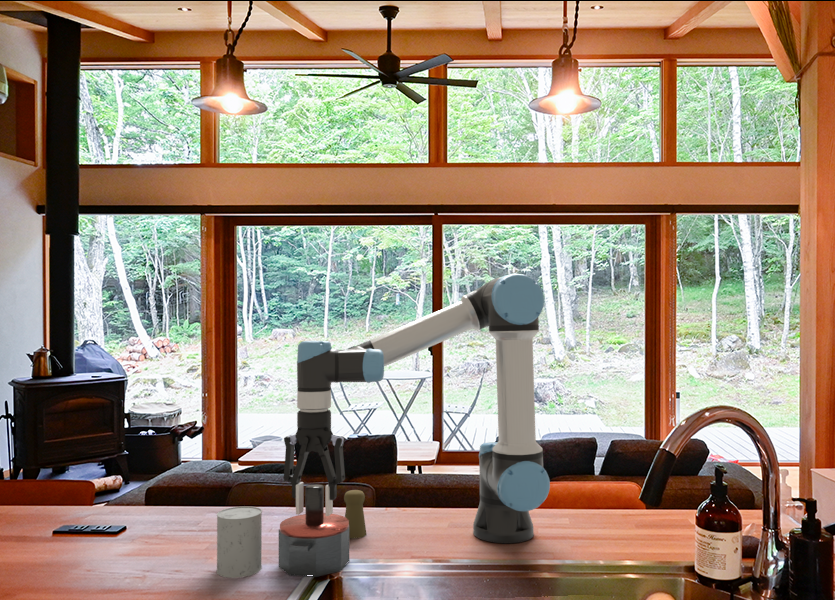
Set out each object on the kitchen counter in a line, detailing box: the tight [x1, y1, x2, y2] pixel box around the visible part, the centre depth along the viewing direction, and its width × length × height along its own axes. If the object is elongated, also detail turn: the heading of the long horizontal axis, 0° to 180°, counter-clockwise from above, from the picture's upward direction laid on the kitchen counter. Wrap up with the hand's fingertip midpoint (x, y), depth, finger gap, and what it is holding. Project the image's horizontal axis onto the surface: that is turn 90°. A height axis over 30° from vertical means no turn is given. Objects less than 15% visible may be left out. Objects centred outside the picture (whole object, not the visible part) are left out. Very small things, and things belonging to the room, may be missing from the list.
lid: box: [279, 484, 349, 539], centre depth 146 cm, size 15×15×11 cm
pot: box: [278, 527, 350, 578], centre depth 146 cm, size 14×19×8 cm
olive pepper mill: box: [343, 489, 367, 539], centre depth 166 cm, size 6×6×11 cm
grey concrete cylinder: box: [216, 505, 263, 579], centre depth 143 cm, size 10×10×12 cm
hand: (314, 513), depth 146 cm, fingers open, 6 cm apart
